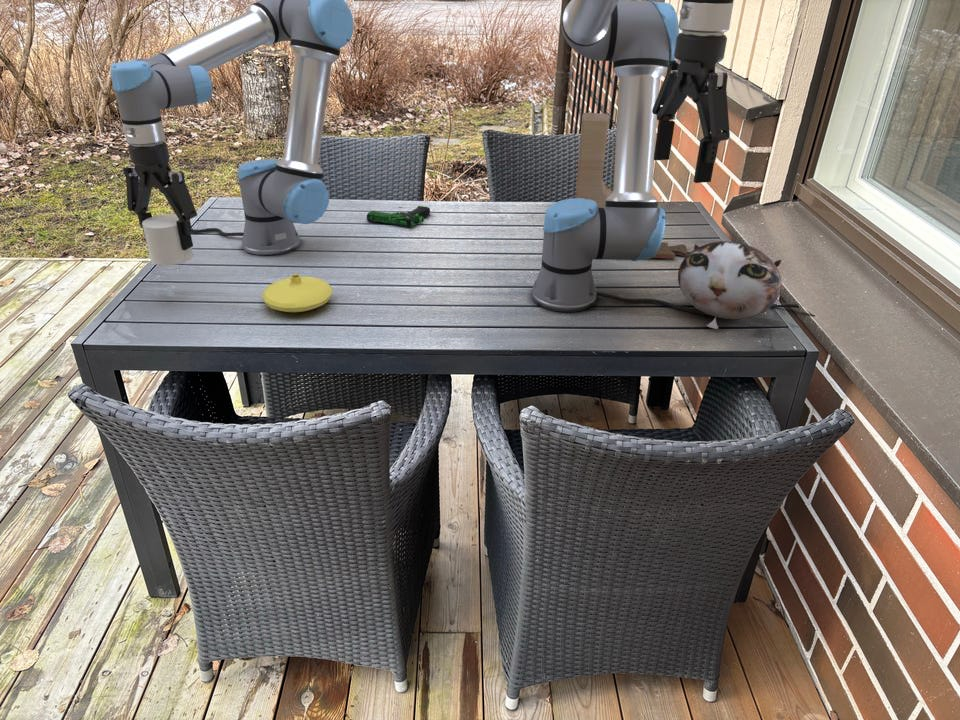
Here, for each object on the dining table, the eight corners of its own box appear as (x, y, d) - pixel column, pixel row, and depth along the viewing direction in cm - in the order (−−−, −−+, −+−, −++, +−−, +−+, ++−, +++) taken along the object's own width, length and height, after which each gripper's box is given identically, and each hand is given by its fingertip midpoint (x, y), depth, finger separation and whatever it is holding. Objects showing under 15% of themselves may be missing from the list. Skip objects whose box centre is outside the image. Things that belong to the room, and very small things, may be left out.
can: (188, 265, 158) (180, 227, 153) (146, 266, 157) (136, 228, 152) (197, 249, 165) (189, 213, 161) (157, 251, 164) (148, 214, 160)
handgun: (435, 206, 218) (413, 220, 206) (436, 216, 220) (413, 230, 208) (389, 200, 224) (364, 213, 212) (389, 209, 225) (365, 223, 213)
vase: (301, 284, 175) (298, 257, 172) (347, 301, 167) (345, 273, 164) (249, 307, 164) (244, 278, 160) (296, 326, 156) (292, 297, 153)
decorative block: (623, 221, 217) (635, 120, 201) (573, 219, 218) (582, 117, 203) (622, 213, 223) (634, 114, 208) (574, 210, 225) (582, 112, 209)
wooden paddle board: (691, 261, 192) (683, 247, 200) (692, 255, 191) (684, 241, 199) (595, 258, 192) (591, 244, 200) (595, 252, 191) (591, 238, 200)
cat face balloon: (655, 305, 156) (684, 221, 158) (671, 327, 172) (697, 250, 173) (760, 330, 146) (790, 239, 147) (766, 351, 161) (793, 268, 163)
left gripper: (91, 141, 148) (118, 244, 159) (178, 152, 142) (199, 257, 153) (117, 133, 154) (142, 233, 165) (202, 143, 148) (221, 245, 159)
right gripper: (643, 24, 119) (627, 152, 130) (726, 43, 99) (700, 194, 109) (683, 23, 121) (664, 150, 132) (773, 42, 100) (742, 190, 111)
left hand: (169, 244), depth 159 cm, fingers closed on can, 9 cm apart
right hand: (680, 170), depth 121 cm, fingers open, 13 cm apart
